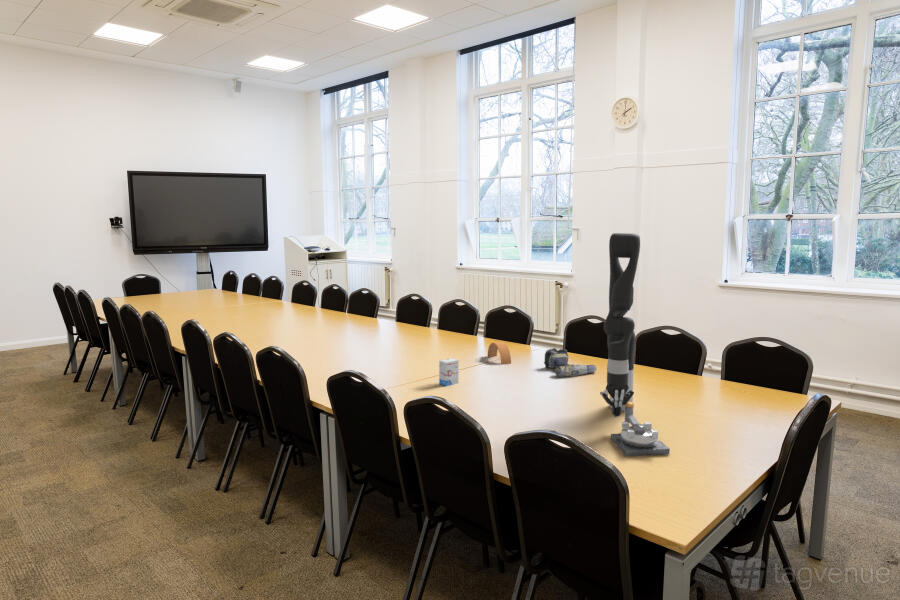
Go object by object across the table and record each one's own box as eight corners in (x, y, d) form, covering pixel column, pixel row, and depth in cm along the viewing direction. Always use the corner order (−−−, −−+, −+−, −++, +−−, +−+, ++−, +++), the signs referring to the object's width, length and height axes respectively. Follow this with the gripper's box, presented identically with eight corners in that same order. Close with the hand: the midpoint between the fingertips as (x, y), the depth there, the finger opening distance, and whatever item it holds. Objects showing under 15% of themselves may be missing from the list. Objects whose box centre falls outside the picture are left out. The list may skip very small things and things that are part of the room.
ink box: (445, 386, 276) (445, 362, 274) (439, 384, 279) (438, 360, 278) (459, 383, 281) (458, 359, 280) (452, 380, 285) (452, 357, 283)
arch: (501, 364, 315) (501, 346, 314) (487, 356, 334) (487, 339, 332) (511, 363, 317) (511, 345, 315) (496, 355, 336) (496, 338, 334)
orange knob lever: (611, 423, 217) (611, 401, 216) (643, 423, 217) (644, 401, 215) (625, 447, 195) (626, 423, 194) (661, 447, 194) (662, 423, 193)
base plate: (610, 439, 208) (610, 433, 208) (651, 437, 209) (651, 432, 209) (625, 456, 193) (625, 450, 193) (669, 454, 194) (669, 448, 194)
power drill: (537, 369, 306) (537, 348, 305) (573, 364, 314) (574, 345, 313) (560, 379, 286) (560, 357, 284) (598, 374, 294) (599, 353, 293)
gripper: (605, 374, 207) (604, 420, 210) (639, 372, 210) (637, 418, 212) (596, 369, 214) (595, 413, 217) (629, 366, 217) (627, 411, 220)
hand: (616, 415), depth 215 cm, fingers closed
